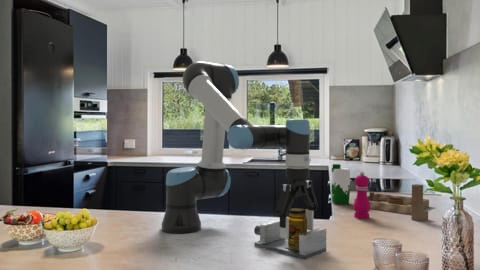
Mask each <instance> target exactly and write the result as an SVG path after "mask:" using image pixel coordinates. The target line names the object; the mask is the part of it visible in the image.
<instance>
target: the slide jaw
mask: <svg viewBox="0 0 480 270" xmlns="http://www.w3.org/2000/svg"><path fill="white" fill-rule="evenodd" d="M253 232H254V234H255V235H256V236H259V241H260V243H264V244H265V243H269V242H272V241H275V240H278V239H281V238H282V237H280V218H279V219H276V220H272V221H269V222H264V223H261V224H259V225H255V227H254V231H253Z"/></svg>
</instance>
